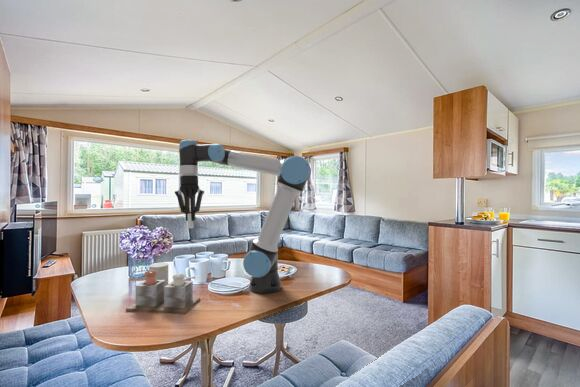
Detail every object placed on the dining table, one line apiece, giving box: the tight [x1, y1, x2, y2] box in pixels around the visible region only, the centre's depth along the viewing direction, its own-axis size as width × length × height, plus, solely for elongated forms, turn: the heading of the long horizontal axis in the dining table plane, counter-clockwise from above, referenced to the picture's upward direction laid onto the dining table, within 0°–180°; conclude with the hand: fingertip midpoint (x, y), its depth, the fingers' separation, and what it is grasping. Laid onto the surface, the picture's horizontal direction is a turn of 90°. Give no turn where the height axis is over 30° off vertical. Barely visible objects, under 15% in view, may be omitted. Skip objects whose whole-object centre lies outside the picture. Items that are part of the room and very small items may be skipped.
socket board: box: [125, 280, 201, 315], centre depth 118 cm, size 24×14×9 cm, turn 84°
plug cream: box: [172, 273, 186, 286], centre depth 117 cm, size 5×5×10 cm
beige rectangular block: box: [148, 262, 169, 286], centre depth 135 cm, size 8×8×12 cm
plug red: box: [144, 270, 157, 285], centre depth 118 cm, size 5×5×10 cm
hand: (190, 228), depth 128 cm, fingers closed
